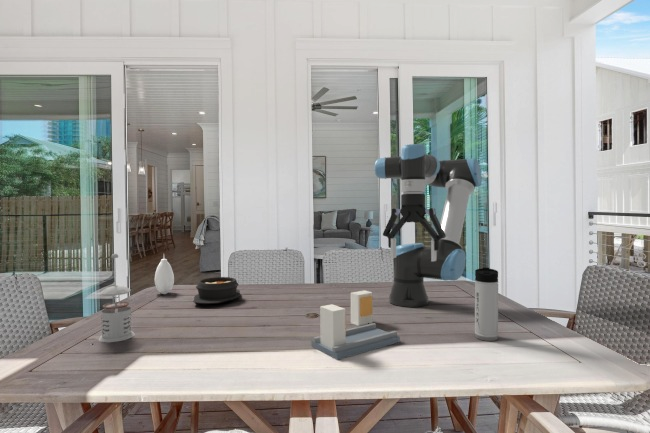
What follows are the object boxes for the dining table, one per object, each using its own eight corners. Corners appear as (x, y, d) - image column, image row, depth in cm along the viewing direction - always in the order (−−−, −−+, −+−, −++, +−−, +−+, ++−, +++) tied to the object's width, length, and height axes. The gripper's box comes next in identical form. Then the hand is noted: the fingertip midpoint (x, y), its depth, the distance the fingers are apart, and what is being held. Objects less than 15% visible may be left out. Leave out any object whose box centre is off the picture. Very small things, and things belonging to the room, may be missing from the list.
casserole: (227, 309, 149) (226, 287, 149) (181, 307, 152) (180, 285, 152) (249, 294, 174) (249, 275, 174) (209, 293, 177) (209, 274, 176)
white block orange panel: (364, 319, 134) (364, 290, 134) (374, 323, 130) (374, 292, 130) (350, 322, 131) (350, 292, 130) (360, 326, 127) (359, 295, 126)
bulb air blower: (167, 290, 181) (166, 251, 181) (177, 293, 177) (176, 252, 176) (151, 294, 175) (150, 253, 174) (161, 296, 170) (160, 254, 170)
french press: (97, 344, 112) (94, 256, 112) (99, 332, 123) (96, 252, 122) (135, 338, 117) (133, 254, 116) (134, 327, 127) (132, 250, 126)
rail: (311, 346, 109) (311, 304, 109) (371, 330, 122) (371, 293, 122) (337, 359, 100) (336, 314, 99) (399, 341, 112) (399, 301, 112)
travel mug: (496, 334, 117) (497, 267, 117) (498, 342, 111) (499, 271, 110) (474, 332, 119) (474, 266, 119) (475, 340, 113) (475, 270, 112)
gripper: (372, 193, 131) (373, 257, 131) (448, 192, 117) (448, 263, 117) (382, 194, 137) (382, 255, 138) (455, 192, 123) (455, 260, 124)
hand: (413, 259), depth 128 cm, fingers open, 13 cm apart
